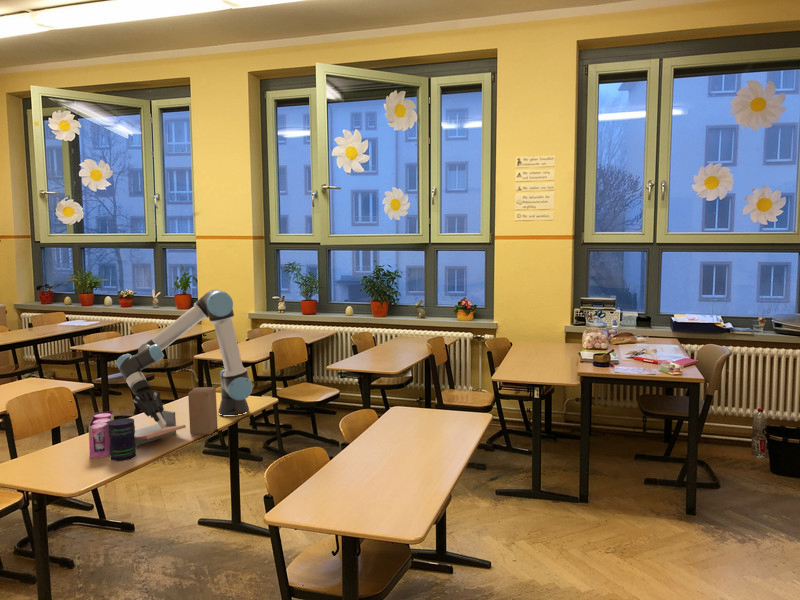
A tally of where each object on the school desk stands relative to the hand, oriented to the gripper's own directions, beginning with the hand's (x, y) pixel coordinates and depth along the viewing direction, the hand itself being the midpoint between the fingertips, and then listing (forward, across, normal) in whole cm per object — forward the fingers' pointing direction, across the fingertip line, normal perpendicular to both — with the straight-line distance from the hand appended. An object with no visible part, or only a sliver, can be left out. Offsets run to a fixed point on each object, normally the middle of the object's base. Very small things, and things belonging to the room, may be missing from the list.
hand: (163, 426), depth 269 cm
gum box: (-6, +19, -16) cm, 26 cm away
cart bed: (-3, 0, -14) cm, 14 cm away
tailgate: (-3, 0, -8) cm, 8 cm away
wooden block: (+7, -19, -4) cm, 21 cm away
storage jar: (+6, +20, -4) cm, 22 cm away
